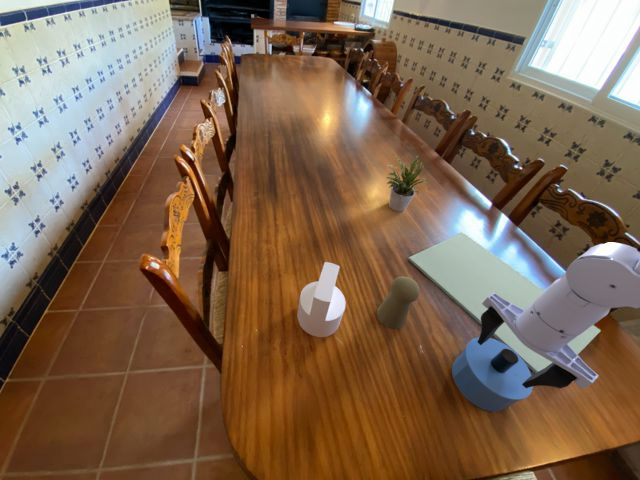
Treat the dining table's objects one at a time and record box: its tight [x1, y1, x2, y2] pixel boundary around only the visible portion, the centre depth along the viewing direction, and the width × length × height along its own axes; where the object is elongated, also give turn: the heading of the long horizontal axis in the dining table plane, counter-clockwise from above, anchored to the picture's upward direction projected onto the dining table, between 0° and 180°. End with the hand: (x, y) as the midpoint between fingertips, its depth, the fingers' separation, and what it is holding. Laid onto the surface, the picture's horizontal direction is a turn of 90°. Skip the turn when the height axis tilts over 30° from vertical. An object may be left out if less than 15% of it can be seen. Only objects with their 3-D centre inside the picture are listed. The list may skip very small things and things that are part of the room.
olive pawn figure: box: [376, 275, 420, 330], centre depth 60 cm, size 6×6×11 cm
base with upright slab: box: [296, 261, 347, 338], centre depth 58 cm, size 9×9×12 cm
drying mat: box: [407, 231, 602, 374], centre depth 70 cm, size 34×22×1 cm, turn 30°
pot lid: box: [464, 336, 534, 402], centre depth 49 cm, size 10×10×5 cm
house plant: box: [385, 153, 431, 212], centre depth 90 cm, size 14×14×16 cm
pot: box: [451, 348, 518, 413], centre depth 52 cm, size 10×10×6 cm
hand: (503, 361), depth 49 cm, fingers open, 7 cm apart
